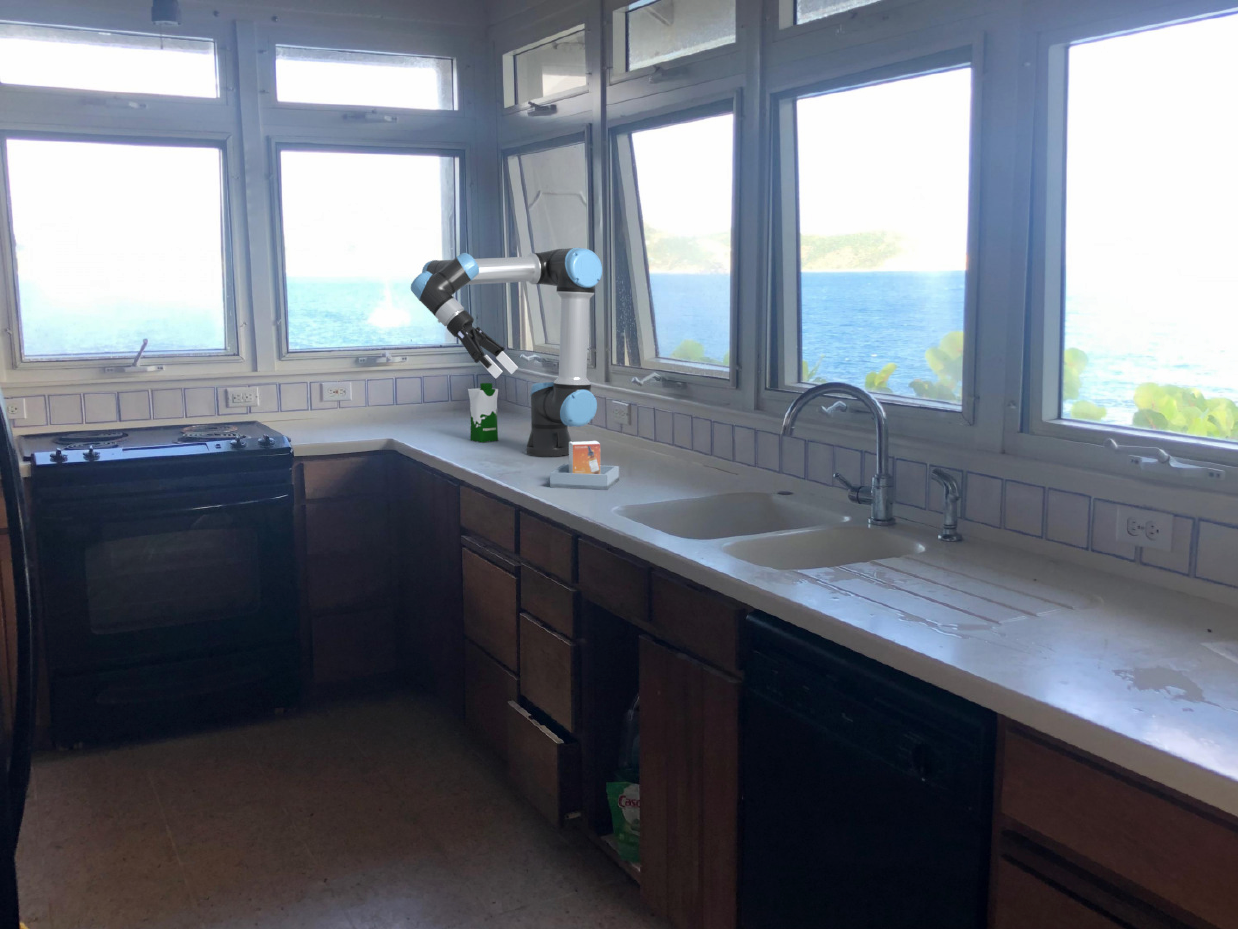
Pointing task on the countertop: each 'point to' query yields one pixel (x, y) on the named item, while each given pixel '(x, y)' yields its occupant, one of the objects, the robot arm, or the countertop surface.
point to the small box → (584, 457)
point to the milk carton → (483, 413)
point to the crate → (584, 478)
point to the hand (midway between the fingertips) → (507, 373)
